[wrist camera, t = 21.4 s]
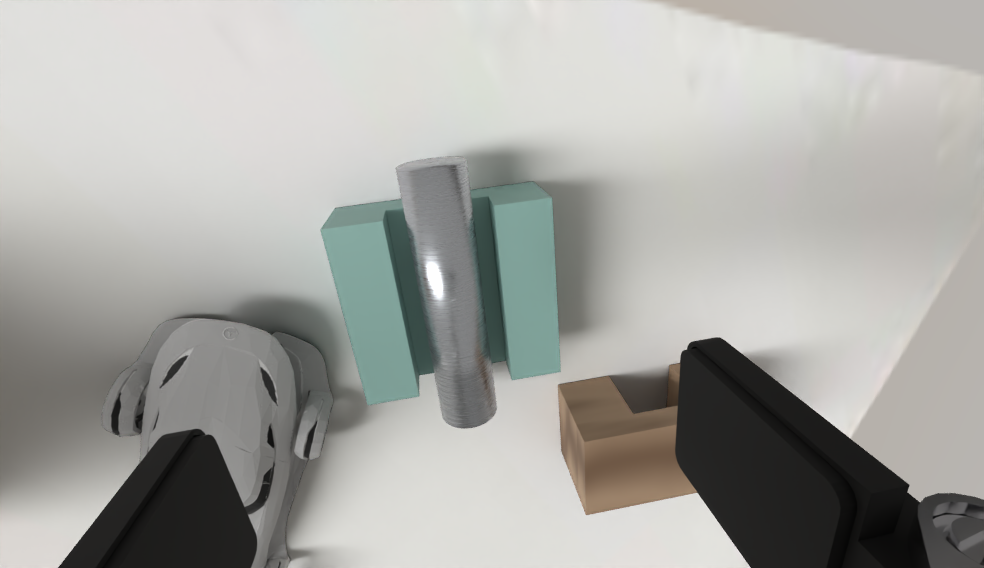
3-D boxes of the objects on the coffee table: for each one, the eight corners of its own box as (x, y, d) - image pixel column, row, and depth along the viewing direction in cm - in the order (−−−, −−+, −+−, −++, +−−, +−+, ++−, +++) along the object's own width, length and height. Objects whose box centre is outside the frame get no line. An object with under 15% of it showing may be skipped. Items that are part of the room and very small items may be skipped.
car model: (130, 575, 33) (83, 653, 28) (143, 273, 25) (81, 316, 20) (291, 584, 36) (272, 657, 31) (353, 316, 27) (339, 362, 23)
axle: (496, 388, 28) (497, 425, 25) (444, 394, 28) (439, 430, 25) (467, 154, 22) (465, 165, 19) (402, 161, 22) (389, 174, 19)
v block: (543, 336, 29) (560, 371, 26) (374, 364, 28) (367, 405, 25) (533, 181, 25) (552, 197, 22) (335, 208, 24) (320, 229, 21)
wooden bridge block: (709, 423, 35) (758, 480, 30) (561, 451, 34) (586, 515, 29) (718, 356, 32) (772, 406, 27) (557, 384, 31) (584, 442, 26)
